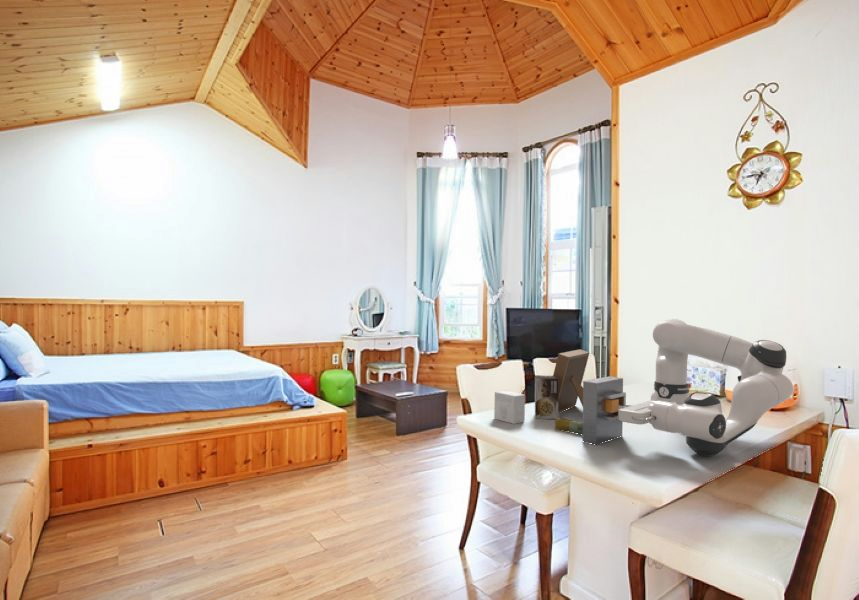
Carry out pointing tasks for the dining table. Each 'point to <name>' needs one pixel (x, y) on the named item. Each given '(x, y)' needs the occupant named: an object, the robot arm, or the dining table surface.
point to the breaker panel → (601, 409)
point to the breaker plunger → (611, 405)
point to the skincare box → (509, 407)
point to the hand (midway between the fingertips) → (620, 407)
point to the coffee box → (546, 397)
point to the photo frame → (570, 377)
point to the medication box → (569, 425)
